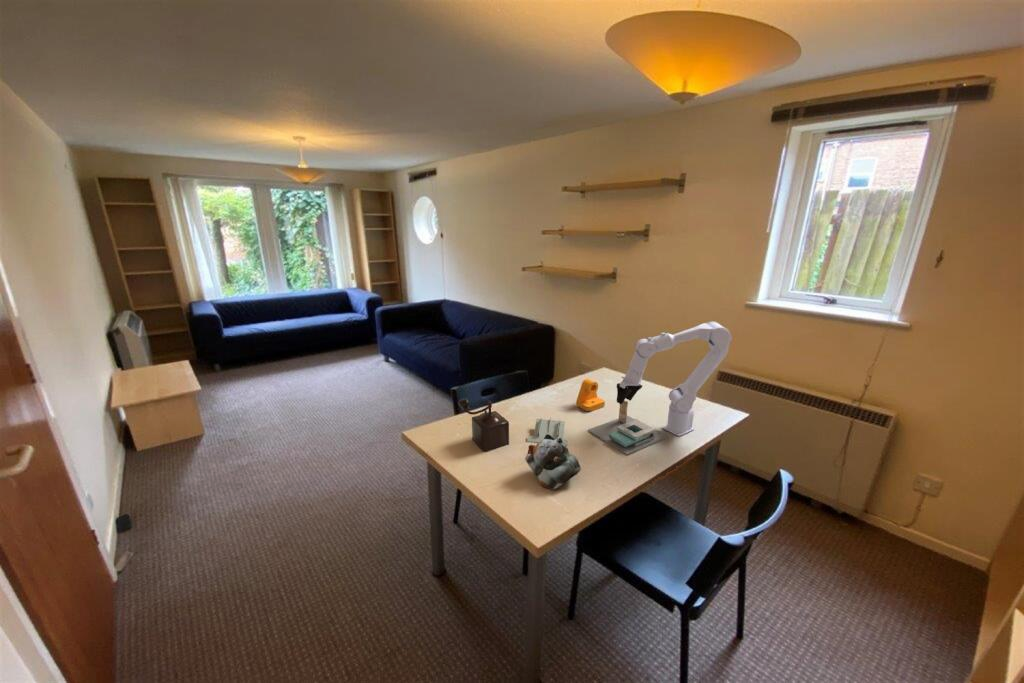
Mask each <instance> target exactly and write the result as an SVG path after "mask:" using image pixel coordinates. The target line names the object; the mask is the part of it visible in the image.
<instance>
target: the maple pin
mask: <svg viewBox="0 0 1024 683" xmlns="http://www.w3.org/2000/svg"><path fill="white" fill-rule="evenodd" d="M628 405H629V400H627V399H625V400H624V402H623V403H622V404H619V412H618V418H619V421H618V422H619V423H621V424H625V423H626V419H627V416H628Z"/></svg>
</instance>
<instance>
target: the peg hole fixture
mask: <svg viewBox="0 0 1024 683" xmlns="http://www.w3.org/2000/svg"><path fill="white" fill-rule="evenodd" d="M617 430H618V431H616V432H613V433H611V434H609V438H611V439H613V440H614V441H616V442H618V443H620V444H621V445H623V446H625V447H627V446H629V445H632V446H633V447H637V446H639V445H642V444H644V443H646V442H649V441H651V440H653V439H655V431H656V428H654V427H653V426H650V425H648V424H646V423H644V422H643V421H640V420H639V419H635V420H633V421H631V422H628V423H626V424H623V425H620V426H618V427H617Z"/></svg>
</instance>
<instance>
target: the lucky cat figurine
mask: <svg viewBox="0 0 1024 683" xmlns="http://www.w3.org/2000/svg"><path fill="white" fill-rule="evenodd" d="M527 448H528V451H527V454H526V456H525V458H524V459H525V462H526V463H527V466H528V467H529V468H530V469H531V471H532V472H533V473H534V474H535V476H536V478H537V479H538V480H539V484H540V485H541V486H542V487H543V488H545V489H549V490H555V489H558V488H560V487H561V486H563V484H565V483H566V482H567V481H569V480H570V479H572V478H573V477H575V476H577V475H578V474H579V473H580V472H581V470H582V468H581V465H580V462H579V459H578V458H577V457H576V456H574V455H573V454H571V453H570V450H569V448H568V446H566V445H565V444H564V443H563V441H562V438H561V437H558V438H556V439H554V438H553V437H552V436H550V435H549V434H546V436H545V437H544V439H543V440H541V441H540V442H539V443H536V445H535V444H530V445H528V447H527Z"/></svg>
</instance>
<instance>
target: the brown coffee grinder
mask: <svg viewBox="0 0 1024 683" xmlns="http://www.w3.org/2000/svg"><path fill="white" fill-rule="evenodd" d="M469 404H470V400H469V399H468V398H465V397H462V398H461V399H460V400H459V401H458V406H459V407H460V408H461V411H462V412H463V413H467V414H469V415H471V416H472V415H473V416H472V417H471V430H472V431H471V436H472V437H471V440H472V442H473V443H474V444H475V445H476V446H477V447H478V448H479V449H480V450H481V451H482V452H484V453H487V452H491V451H494V450H498V449H500V448H503V447H505V446H508V445H510V423H509V420H508V419H506V418H505V417H504V416H502V415H501V414H500V413H498V411H496V410H495V411H492V407H493V405H492V401H491V400H489V401H488V402H487V406H485V407H484V408H482V409H480V410H477V411H470V409H471V408H470V407H469ZM487 410H488V411H487ZM478 414H479V415H478ZM474 415H475V416H474Z"/></svg>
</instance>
